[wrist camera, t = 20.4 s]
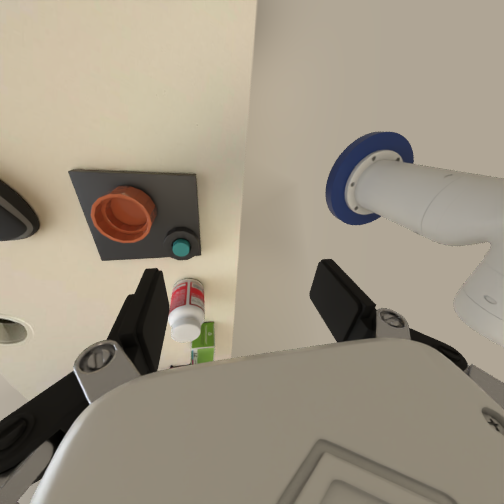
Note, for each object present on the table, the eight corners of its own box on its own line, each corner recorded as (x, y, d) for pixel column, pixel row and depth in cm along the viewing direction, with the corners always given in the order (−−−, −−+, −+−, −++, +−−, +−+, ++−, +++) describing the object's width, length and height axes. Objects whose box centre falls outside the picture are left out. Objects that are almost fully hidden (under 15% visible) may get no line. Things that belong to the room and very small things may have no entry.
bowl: (152, 185, 29) (145, 194, 25) (160, 228, 32) (155, 242, 28) (98, 184, 27) (82, 193, 23) (112, 229, 31) (100, 244, 27)
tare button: (189, 238, 33) (188, 242, 32) (190, 251, 34) (190, 256, 33) (172, 238, 32) (171, 243, 31) (174, 252, 34) (173, 257, 32)
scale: (195, 174, 30) (195, 178, 28) (200, 251, 38) (201, 260, 35) (73, 169, 27) (60, 173, 24) (105, 256, 34) (97, 266, 31)
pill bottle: (172, 299, 42) (164, 346, 33) (173, 276, 39) (165, 321, 30) (202, 299, 44) (203, 344, 35) (205, 278, 41) (207, 320, 32)
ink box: (212, 346, 53) (215, 407, 42) (191, 349, 52) (189, 412, 41) (214, 320, 48) (218, 381, 37) (191, 322, 47) (188, 386, 35)
